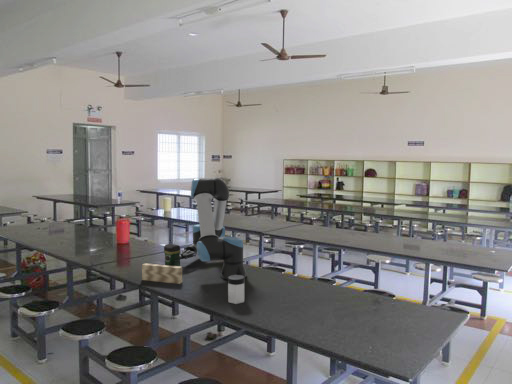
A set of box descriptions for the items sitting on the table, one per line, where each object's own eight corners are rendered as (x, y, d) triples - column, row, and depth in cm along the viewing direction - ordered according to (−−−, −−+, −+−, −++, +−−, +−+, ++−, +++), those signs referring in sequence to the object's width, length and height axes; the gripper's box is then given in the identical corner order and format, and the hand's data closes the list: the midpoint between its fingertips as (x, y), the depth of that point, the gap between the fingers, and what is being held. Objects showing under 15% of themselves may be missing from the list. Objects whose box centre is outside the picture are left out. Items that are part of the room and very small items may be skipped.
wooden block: (182, 282, 231) (182, 266, 230) (179, 283, 228) (179, 268, 227) (145, 278, 238) (144, 263, 237) (142, 279, 235) (141, 264, 234)
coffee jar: (183, 274, 245) (182, 244, 243) (172, 277, 239) (171, 246, 237) (173, 271, 251) (172, 241, 249) (162, 274, 245) (161, 244, 243)
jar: (224, 301, 201) (224, 277, 200) (233, 296, 208) (233, 273, 207) (239, 305, 196) (239, 280, 195) (248, 299, 203) (248, 276, 202)
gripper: (201, 257, 270) (184, 266, 247) (183, 255, 273) (165, 264, 251) (201, 245, 269) (184, 254, 246) (183, 244, 273) (165, 252, 250)
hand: (174, 259), depth 249 cm, fingers closed
